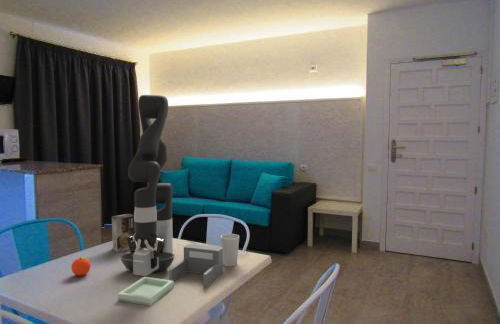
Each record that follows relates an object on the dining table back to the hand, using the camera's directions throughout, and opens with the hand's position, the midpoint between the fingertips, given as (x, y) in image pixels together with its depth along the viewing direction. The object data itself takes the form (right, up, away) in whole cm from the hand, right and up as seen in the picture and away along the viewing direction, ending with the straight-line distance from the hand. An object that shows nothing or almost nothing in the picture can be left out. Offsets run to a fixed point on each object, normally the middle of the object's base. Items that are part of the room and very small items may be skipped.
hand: (146, 266), depth 130 cm
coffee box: (-25, -6, +51) cm, 57 cm away
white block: (0, -1, 0) cm, 1 cm away
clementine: (-30, -8, +18) cm, 36 cm away
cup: (+27, -7, +31) cm, 42 cm away
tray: (0, -10, +1) cm, 10 cm away
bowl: (-6, -8, +22) cm, 25 cm away
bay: (+15, -8, +15) cm, 23 cm away
